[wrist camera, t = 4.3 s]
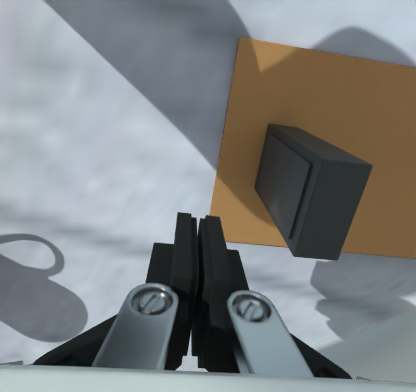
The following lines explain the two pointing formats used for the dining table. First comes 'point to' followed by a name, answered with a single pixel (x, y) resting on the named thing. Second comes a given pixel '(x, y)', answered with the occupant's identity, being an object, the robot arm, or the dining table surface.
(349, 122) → the cork mat
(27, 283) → the dining table surface
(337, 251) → the block
